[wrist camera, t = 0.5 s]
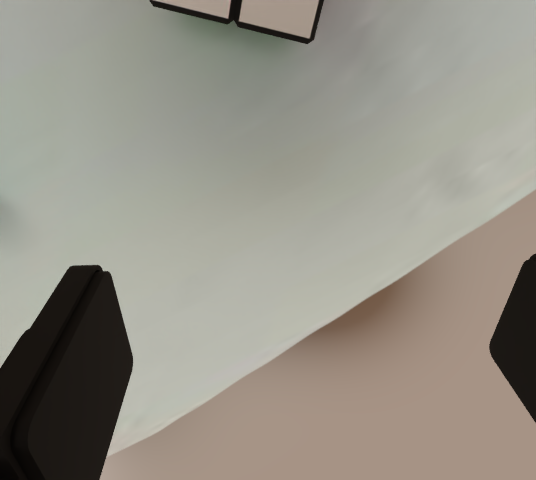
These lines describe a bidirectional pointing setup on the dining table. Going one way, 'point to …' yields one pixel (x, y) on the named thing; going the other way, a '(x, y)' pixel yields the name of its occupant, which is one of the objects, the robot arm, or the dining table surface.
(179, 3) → the puzzle cube
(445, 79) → the dining table surface
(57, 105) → the dining table surface
